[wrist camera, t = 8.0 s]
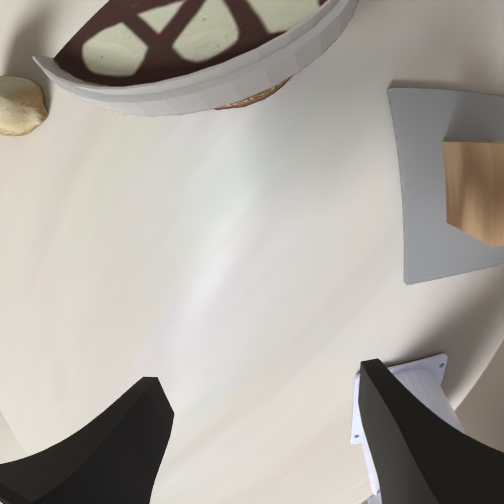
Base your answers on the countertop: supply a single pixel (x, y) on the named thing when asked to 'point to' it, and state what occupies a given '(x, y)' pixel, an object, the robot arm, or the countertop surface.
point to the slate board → (439, 177)
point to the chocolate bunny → (20, 106)
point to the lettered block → (476, 189)
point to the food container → (193, 52)
